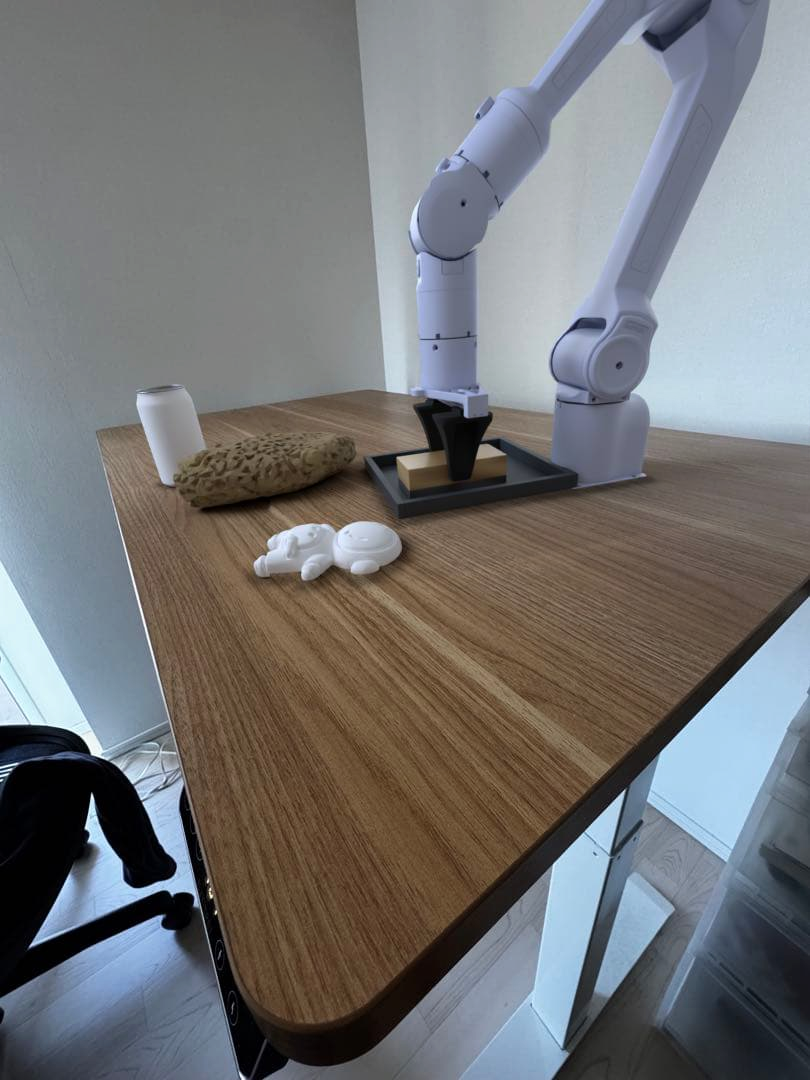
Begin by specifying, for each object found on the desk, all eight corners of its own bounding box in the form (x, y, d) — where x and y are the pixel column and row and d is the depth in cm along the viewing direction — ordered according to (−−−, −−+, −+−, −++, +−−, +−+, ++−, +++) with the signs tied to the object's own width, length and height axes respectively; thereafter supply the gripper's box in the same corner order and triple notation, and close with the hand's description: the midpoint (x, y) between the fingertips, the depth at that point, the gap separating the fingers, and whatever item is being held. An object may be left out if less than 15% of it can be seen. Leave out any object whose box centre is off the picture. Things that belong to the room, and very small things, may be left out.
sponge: (189, 533, 48) (365, 474, 49) (155, 463, 46) (340, 402, 46) (222, 508, 61) (361, 461, 61) (197, 452, 58) (342, 404, 59)
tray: (502, 451, 63) (502, 436, 62) (576, 492, 47) (578, 473, 47) (365, 471, 59) (363, 456, 58) (399, 524, 43) (397, 504, 43)
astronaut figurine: (281, 537, 43) (274, 508, 41) (405, 533, 42) (403, 503, 40) (245, 587, 35) (235, 554, 34) (397, 585, 34) (393, 550, 32)
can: (218, 479, 60) (192, 386, 55) (166, 491, 57) (134, 394, 52) (207, 468, 65) (183, 382, 60) (159, 479, 62) (129, 389, 57)
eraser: (487, 472, 53) (487, 443, 52) (506, 485, 49) (507, 454, 47) (398, 486, 51) (396, 456, 50) (410, 501, 47) (408, 469, 45)
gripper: (390, 338, 49) (400, 459, 55) (432, 344, 36) (438, 500, 42) (451, 333, 50) (454, 451, 56) (512, 336, 38) (506, 488, 44)
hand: (451, 471), depth 49 cm, fingers closed on eraser, 5 cm apart
